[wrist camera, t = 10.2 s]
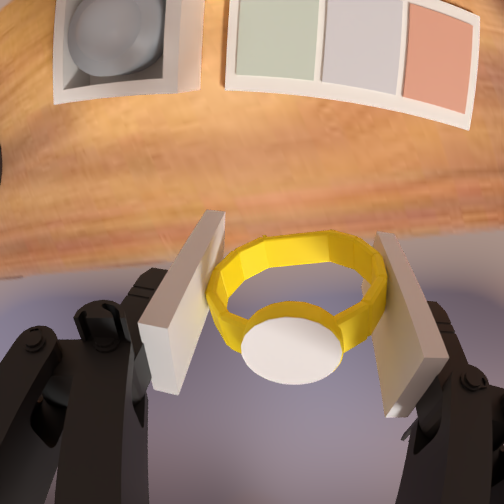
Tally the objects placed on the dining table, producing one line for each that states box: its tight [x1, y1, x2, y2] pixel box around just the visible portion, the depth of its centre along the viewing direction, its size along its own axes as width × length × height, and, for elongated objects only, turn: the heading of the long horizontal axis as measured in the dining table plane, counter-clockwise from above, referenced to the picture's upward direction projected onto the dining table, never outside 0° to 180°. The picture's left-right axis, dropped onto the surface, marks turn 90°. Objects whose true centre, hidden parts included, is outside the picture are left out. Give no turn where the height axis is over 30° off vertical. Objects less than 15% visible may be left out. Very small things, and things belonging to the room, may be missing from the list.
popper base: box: [53, 0, 205, 105], centre depth 18 cm, size 10×10×5 cm
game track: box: [225, 0, 480, 131], centre depth 18 cm, size 19×10×1 cm, turn 87°
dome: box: [68, 0, 166, 77], centre depth 16 cm, size 7×7×5 cm
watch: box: [205, 230, 387, 385], centre depth 11 cm, size 6×3×6 cm, turn 101°
